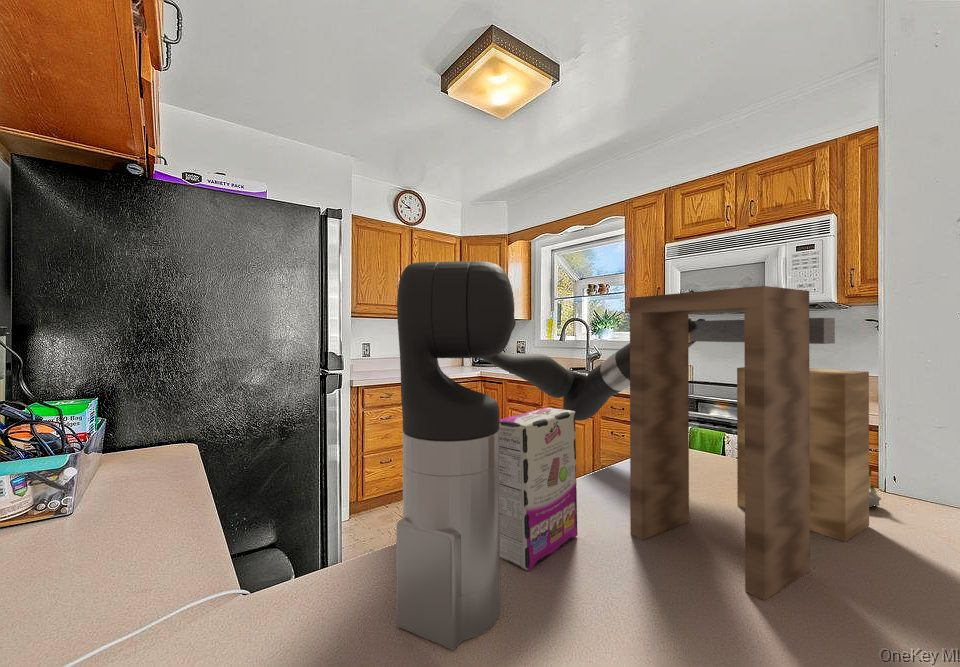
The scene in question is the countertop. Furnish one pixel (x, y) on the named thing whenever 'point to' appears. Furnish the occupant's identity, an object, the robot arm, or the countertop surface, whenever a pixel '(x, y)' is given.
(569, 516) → the candy bar box
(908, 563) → the countertop surface
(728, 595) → the countertop surface
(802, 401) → the walnut bridge
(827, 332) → the grey and wood bar
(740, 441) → the oak block
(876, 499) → the figurine
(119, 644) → the countertop surface
